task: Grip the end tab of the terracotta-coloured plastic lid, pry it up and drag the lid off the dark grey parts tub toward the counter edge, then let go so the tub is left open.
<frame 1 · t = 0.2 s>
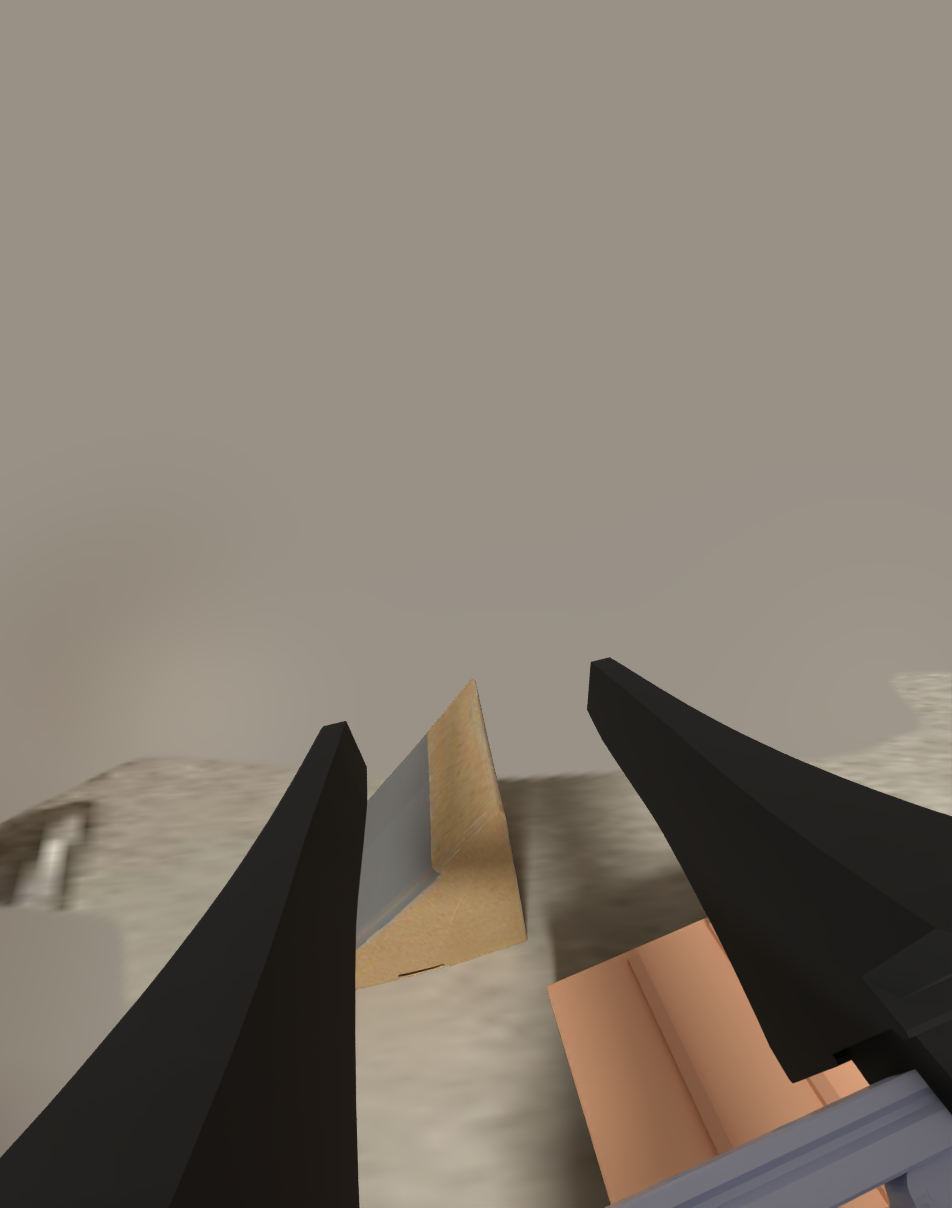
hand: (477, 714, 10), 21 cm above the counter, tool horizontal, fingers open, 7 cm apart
sandwich container: (409, 895, 25), on the counter
lid: (763, 1111, 14), point 3 cm above the counter, touching tub
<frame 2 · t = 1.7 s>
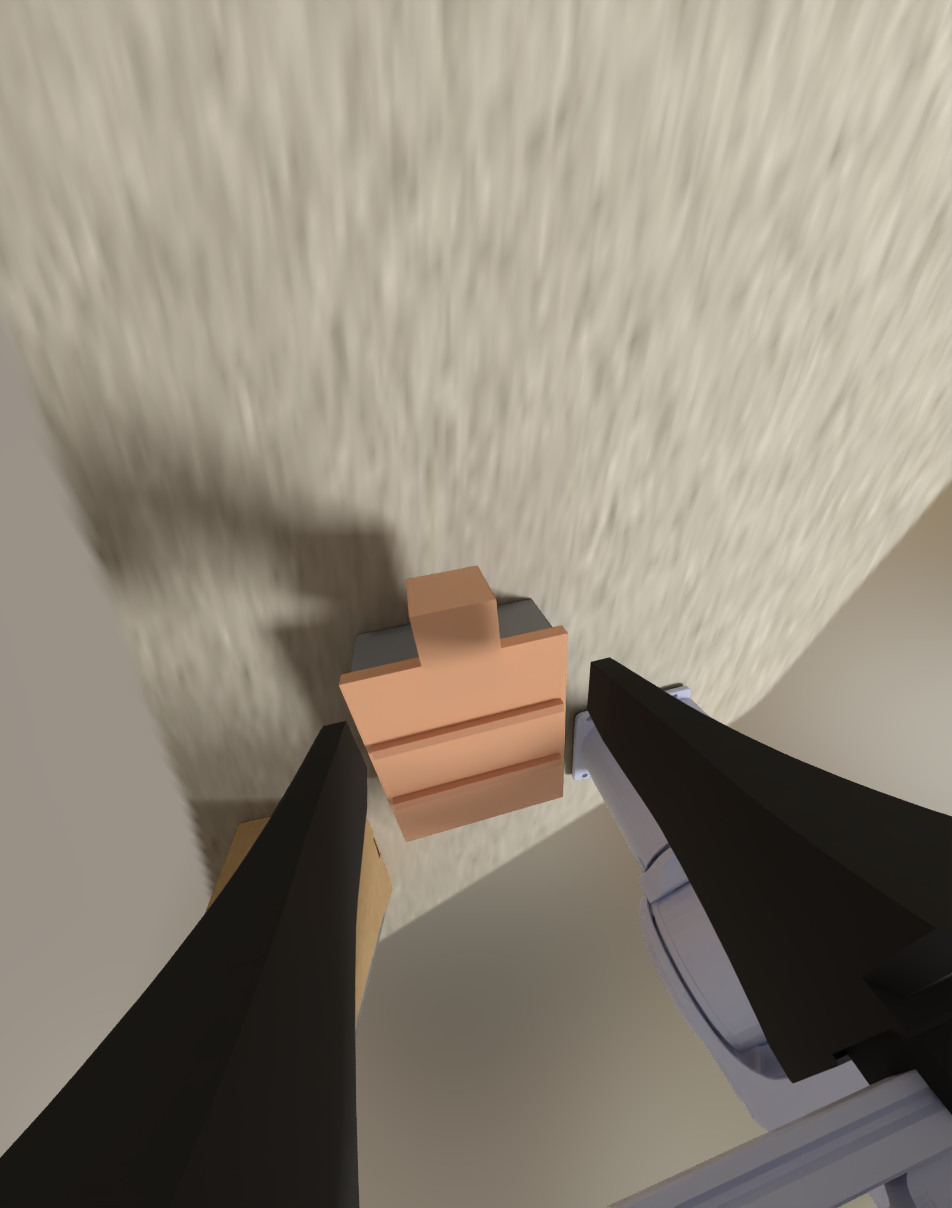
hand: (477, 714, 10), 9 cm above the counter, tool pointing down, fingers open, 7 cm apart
tub: (461, 698, 23), on the counter
sandwich container: (327, 857, 29), on the counter
lid: (472, 742, 20), point 3 cm above the counter, touching tub
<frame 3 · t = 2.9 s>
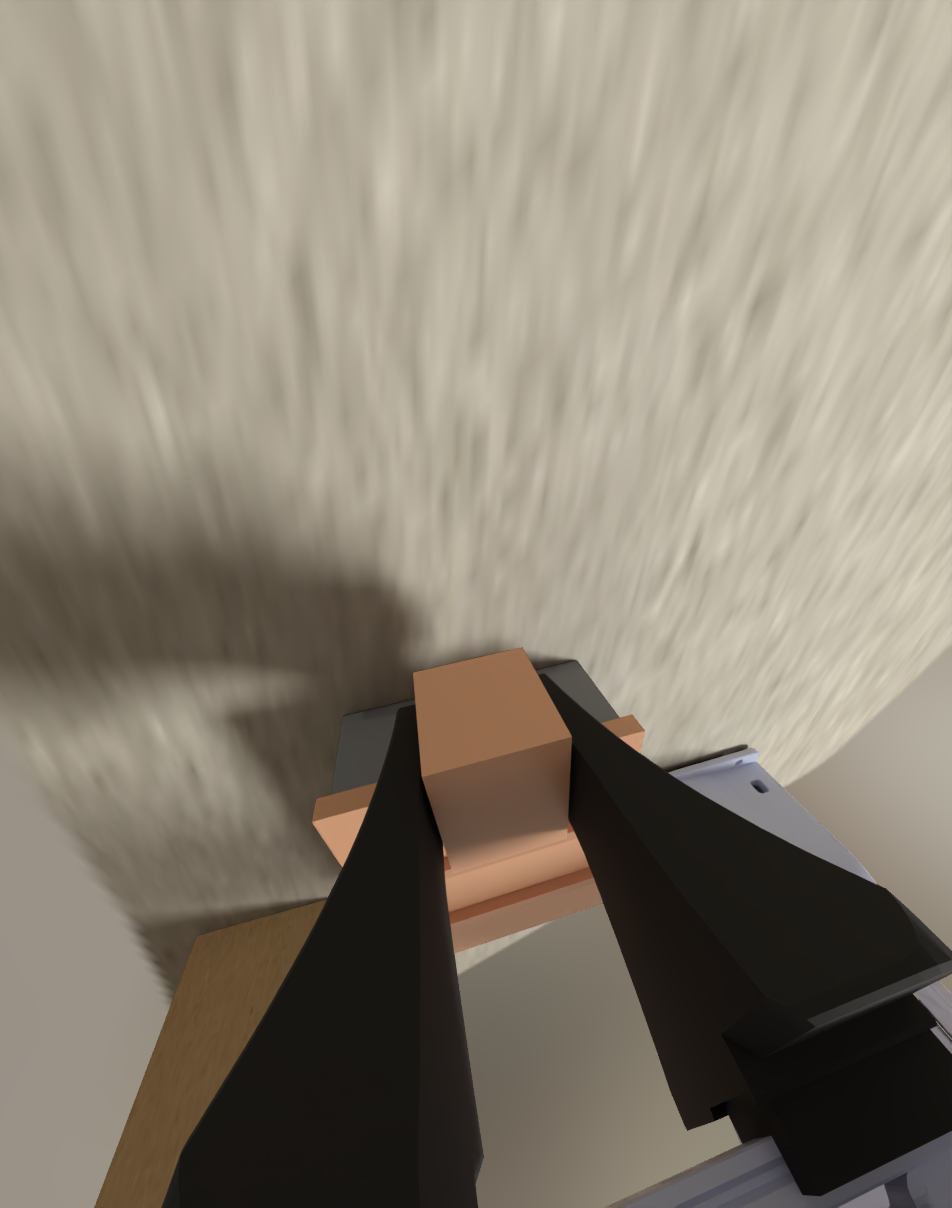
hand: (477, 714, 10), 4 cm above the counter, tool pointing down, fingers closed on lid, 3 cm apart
tub: (481, 779, 18), on the counter
sandwich container: (313, 952, 24), on the counter
lid: (499, 854, 15), point 3 cm above the counter, touching gripper, tub
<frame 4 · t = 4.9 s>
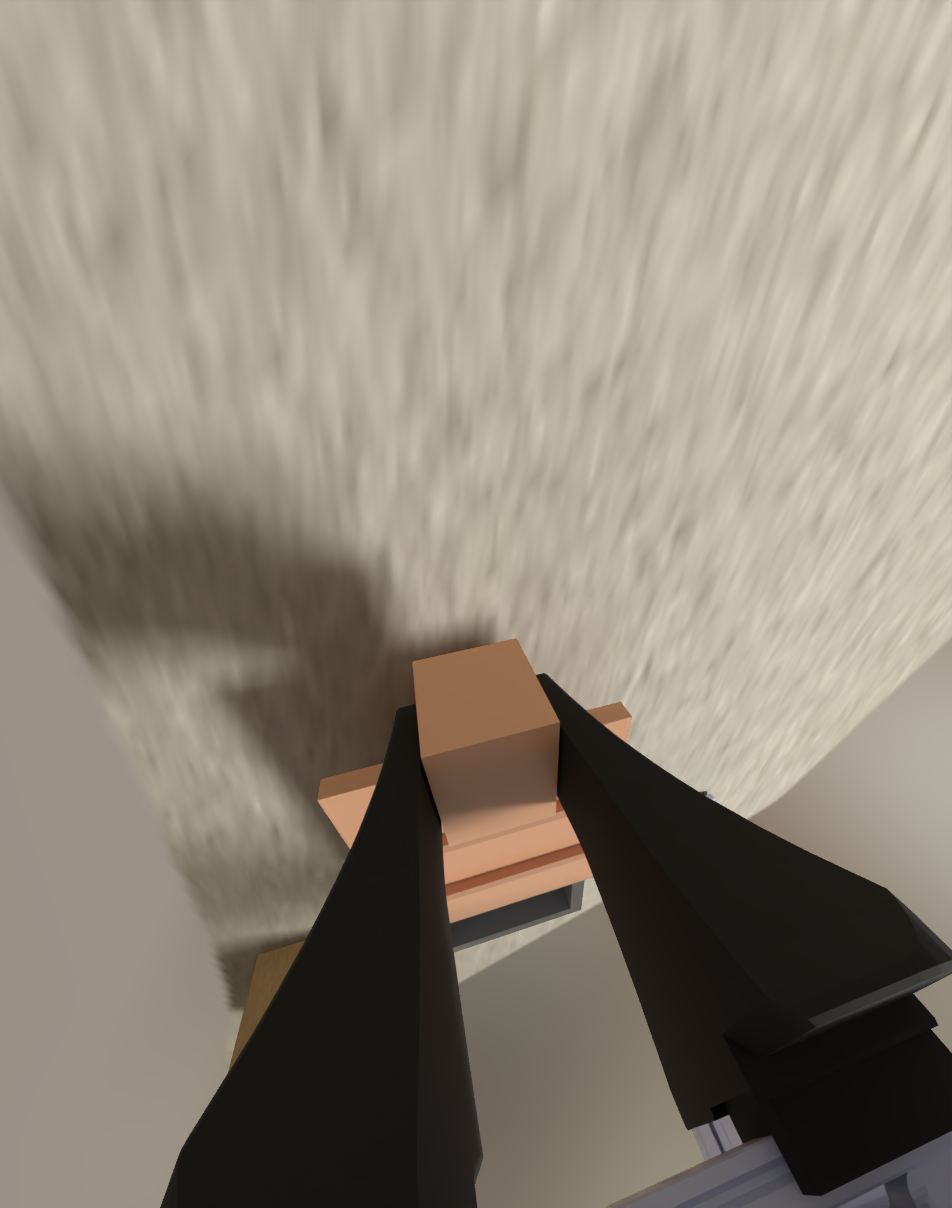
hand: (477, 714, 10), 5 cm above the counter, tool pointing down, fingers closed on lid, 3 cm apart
tub: (488, 827, 22), on the counter
sandwich container: (345, 964, 29), on the counter
lid: (493, 831, 16), point 4 cm above the counter, touching gripper
when the fingers open (3 cm above the counter, at t = 6.7 s): lid stays where it is, resting on tub.
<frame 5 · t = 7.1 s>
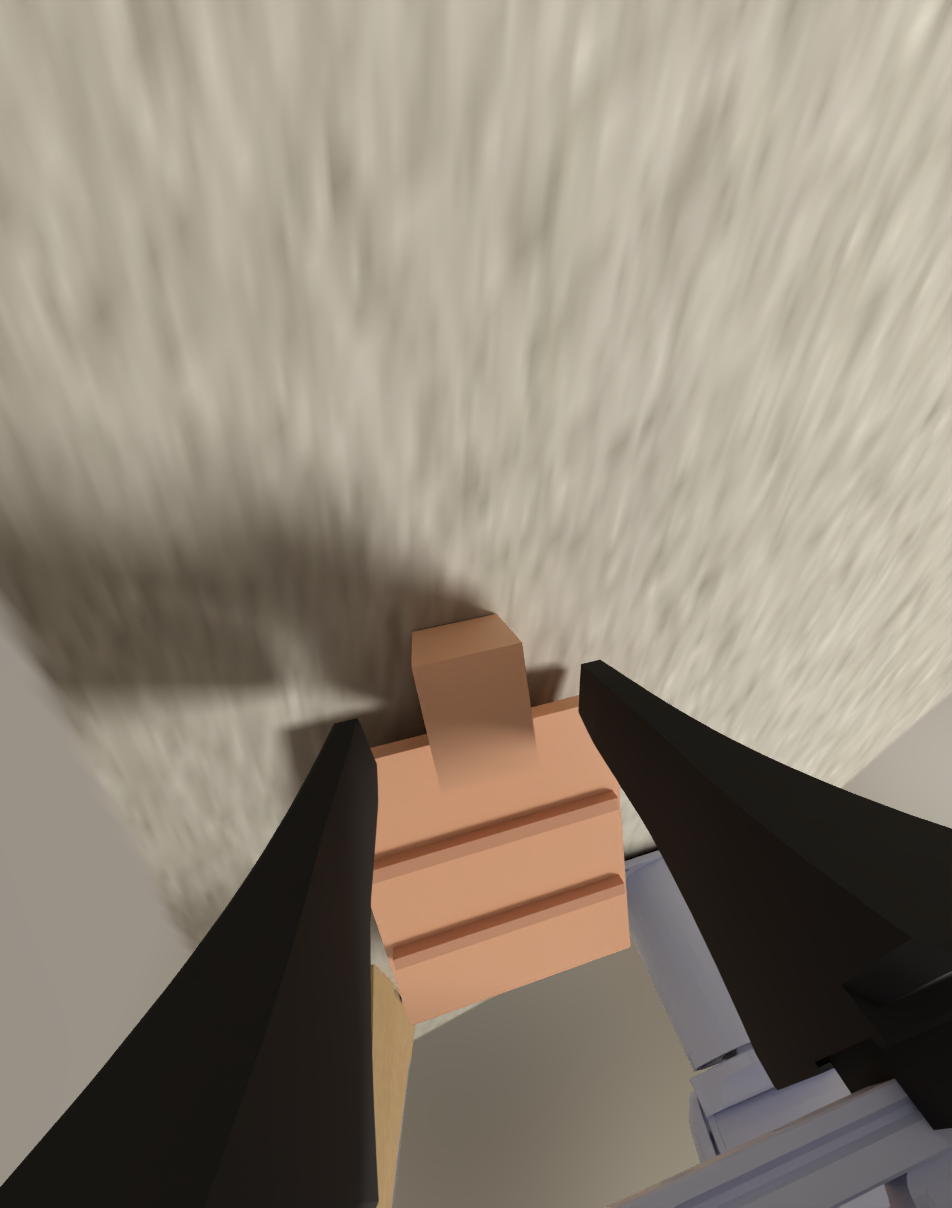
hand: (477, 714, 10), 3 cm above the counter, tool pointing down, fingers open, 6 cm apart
sandwich container: (349, 1004, 28), on the counter
lid: (500, 858, 15), point 3 cm above the counter, tilted 16°, touching tub
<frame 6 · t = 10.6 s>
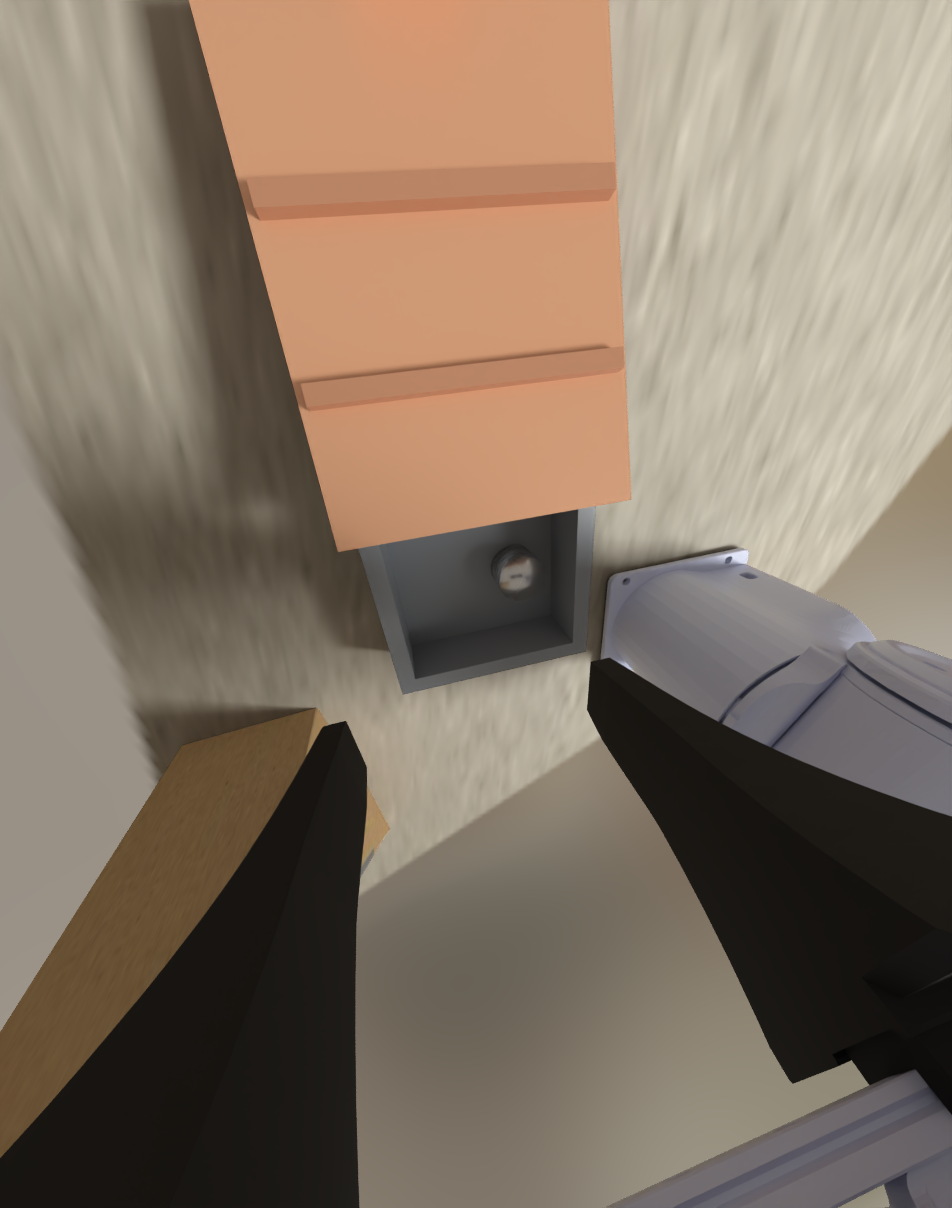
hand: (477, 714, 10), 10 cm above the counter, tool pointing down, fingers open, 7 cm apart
slug a: (512, 565, 19), point 1 cm above the counter, touching tub
tub: (469, 533, 18), on the counter
sandwich container: (304, 791, 25), on the counter
lid: (455, 307, 11), point 3 cm above the counter, tilted 16°, touching tub
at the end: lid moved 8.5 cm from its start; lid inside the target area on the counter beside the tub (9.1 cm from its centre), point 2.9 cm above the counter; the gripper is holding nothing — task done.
